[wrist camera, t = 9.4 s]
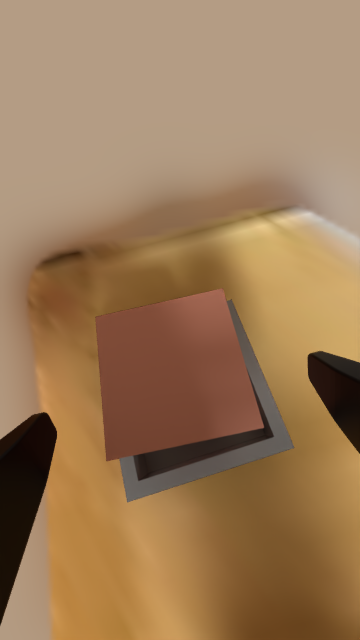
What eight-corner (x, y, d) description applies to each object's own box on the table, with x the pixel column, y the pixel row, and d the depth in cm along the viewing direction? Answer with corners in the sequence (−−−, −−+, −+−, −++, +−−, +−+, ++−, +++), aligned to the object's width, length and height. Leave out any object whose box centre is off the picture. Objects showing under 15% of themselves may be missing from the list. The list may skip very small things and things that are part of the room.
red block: (235, 425, 16) (264, 427, 8) (158, 441, 16) (106, 460, 8) (215, 349, 18) (222, 288, 10) (146, 365, 18) (95, 316, 10)
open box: (277, 443, 17) (294, 447, 13) (143, 486, 16) (127, 502, 13) (227, 319, 20) (231, 299, 17) (116, 354, 20) (98, 341, 17)
